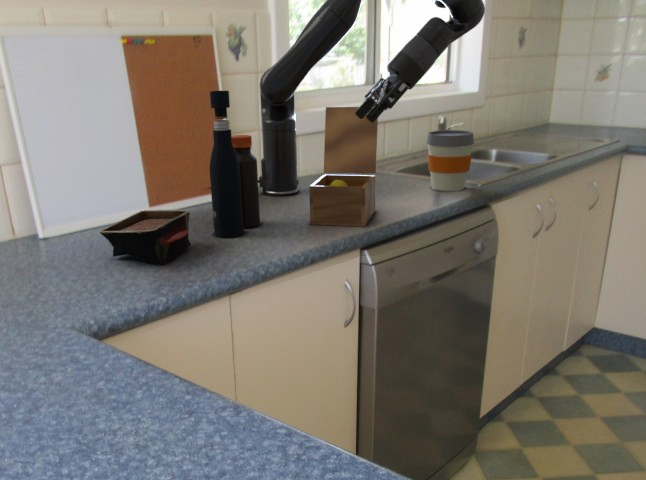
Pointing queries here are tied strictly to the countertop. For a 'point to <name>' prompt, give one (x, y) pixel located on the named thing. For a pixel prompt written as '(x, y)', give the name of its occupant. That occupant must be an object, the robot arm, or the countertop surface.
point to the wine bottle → (224, 173)
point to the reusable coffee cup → (449, 158)
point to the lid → (349, 142)
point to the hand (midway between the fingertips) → (363, 118)
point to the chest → (342, 200)
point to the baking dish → (150, 235)
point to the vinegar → (248, 180)
